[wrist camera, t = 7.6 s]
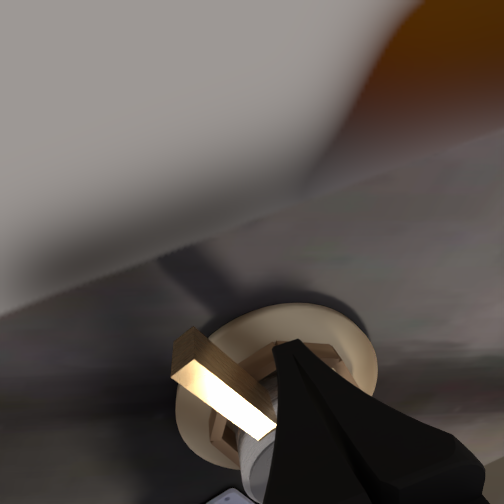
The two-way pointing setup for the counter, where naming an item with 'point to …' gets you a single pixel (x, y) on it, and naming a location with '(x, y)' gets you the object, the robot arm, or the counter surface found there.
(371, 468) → the robot arm
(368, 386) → the board
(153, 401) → the counter surface
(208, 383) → the milk pan
